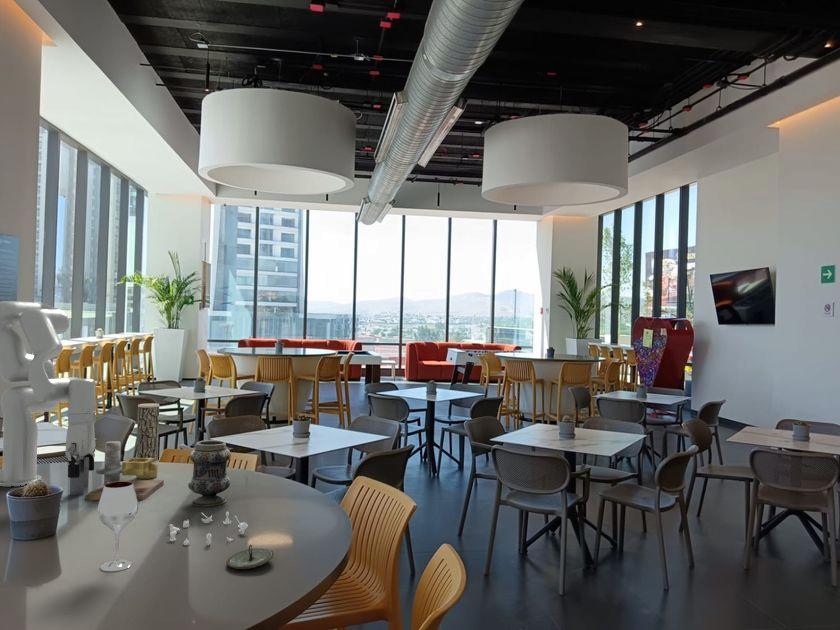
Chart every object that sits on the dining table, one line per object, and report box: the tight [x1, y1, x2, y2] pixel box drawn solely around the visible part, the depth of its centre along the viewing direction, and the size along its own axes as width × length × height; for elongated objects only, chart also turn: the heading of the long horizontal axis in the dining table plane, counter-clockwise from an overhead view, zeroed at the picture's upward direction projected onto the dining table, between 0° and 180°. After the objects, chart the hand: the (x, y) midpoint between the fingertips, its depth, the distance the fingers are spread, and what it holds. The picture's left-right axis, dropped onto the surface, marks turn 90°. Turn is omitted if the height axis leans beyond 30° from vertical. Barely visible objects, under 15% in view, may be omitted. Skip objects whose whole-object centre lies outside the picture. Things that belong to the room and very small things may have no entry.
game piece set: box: [168, 510, 249, 546], centre depth 163 cm, size 19×20×4 cm
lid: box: [226, 544, 275, 570], centre depth 143 cm, size 11×10×5 cm
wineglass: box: [96, 481, 139, 573], centre depth 140 cm, size 8×8×18 cm
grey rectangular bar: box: [69, 456, 90, 496], centre depth 197 cm, size 4×3×11 cm
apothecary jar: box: [187, 439, 232, 508], centre depth 191 cm, size 12×12×18 cm
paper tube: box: [135, 402, 160, 480], centre depth 219 cm, size 7×7×25 cm
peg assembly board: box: [84, 440, 165, 501], centre depth 200 cm, size 18×18×16 cm
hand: (81, 473), depth 196 cm, fingers open, 9 cm apart
